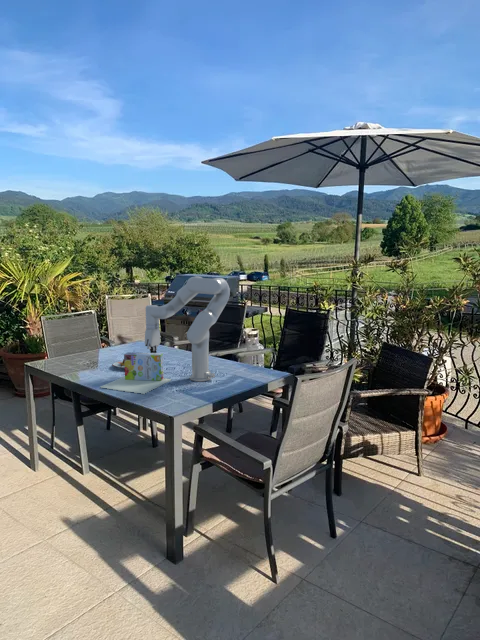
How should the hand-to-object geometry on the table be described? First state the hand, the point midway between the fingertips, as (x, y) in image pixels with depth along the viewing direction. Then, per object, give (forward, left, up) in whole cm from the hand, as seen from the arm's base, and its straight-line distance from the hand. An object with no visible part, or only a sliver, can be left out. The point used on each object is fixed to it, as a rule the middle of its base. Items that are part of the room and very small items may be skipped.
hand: (153, 357), depth 249 cm
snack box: (0, +10, -11) cm, 15 cm away
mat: (0, +17, -11) cm, 21 cm away
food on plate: (+24, -13, -12) cm, 30 cm away
